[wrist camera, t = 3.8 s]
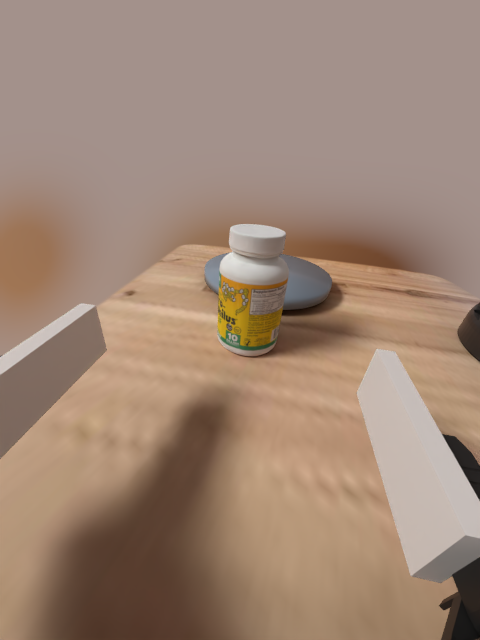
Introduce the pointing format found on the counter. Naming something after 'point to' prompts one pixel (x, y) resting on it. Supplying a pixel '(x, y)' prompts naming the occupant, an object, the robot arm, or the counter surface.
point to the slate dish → (302, 286)
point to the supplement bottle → (252, 289)
